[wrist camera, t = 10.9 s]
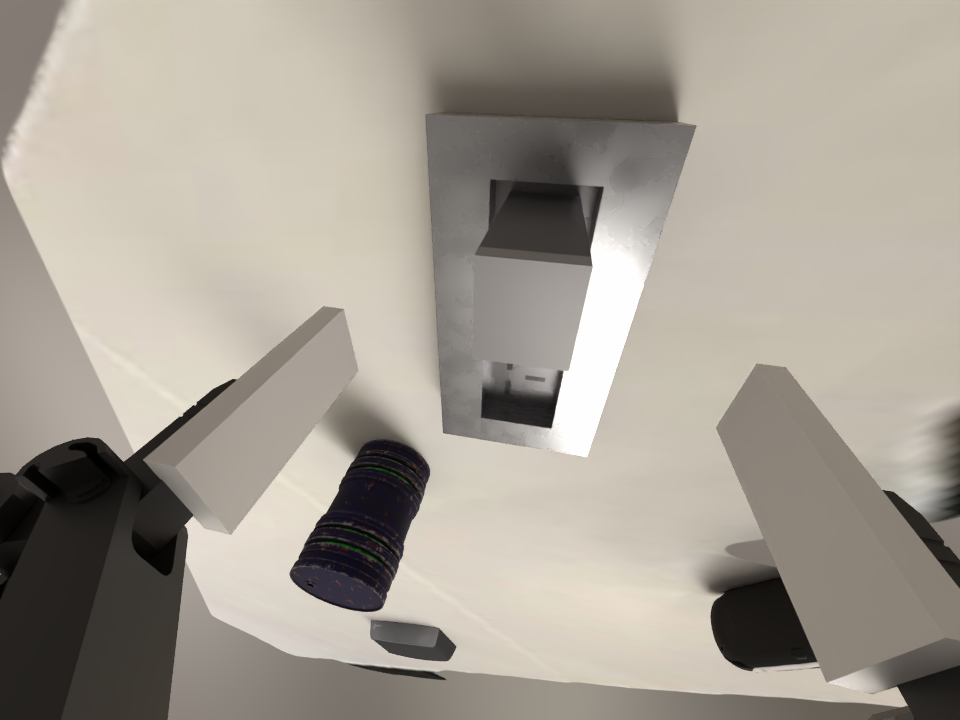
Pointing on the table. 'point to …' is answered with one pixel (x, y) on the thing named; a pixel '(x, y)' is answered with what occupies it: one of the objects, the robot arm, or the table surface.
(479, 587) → the table surface
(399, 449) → the storage jar
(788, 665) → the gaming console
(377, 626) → the external hard drive
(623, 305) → the socket board
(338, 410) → the table surface
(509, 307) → the plug
